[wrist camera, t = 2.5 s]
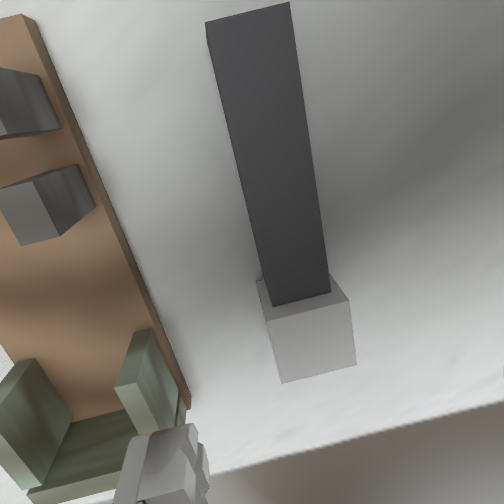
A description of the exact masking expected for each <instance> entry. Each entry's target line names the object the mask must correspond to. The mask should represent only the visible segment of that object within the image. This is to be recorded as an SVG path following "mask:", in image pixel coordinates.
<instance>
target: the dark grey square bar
mask: <svg viewBox="0 0 504 504" xmlns="http://www.w3.org/2000/svg"><path fill="white" fill-rule="evenodd" d="M205 27H206V38H207V43H208V48H209V52H210V56H211V60H212V64H213V68H214V73H215V77H216V81H217V85H218V89H219V93H220V98H221V102H222V106H223V110H224V114H225V118H226V122H227V127H228V131H229V135H230V139H231V143H232V147H233V152H234V156H235V160H236V164H237V168H238V172H239V177H240V181H241V185H242V189H243V193H244V197H245V202H246V206H247V210H248V214H249V218H250V222H251V227H252V231H253V235H254V239H255V243H256V247H257V252H258V256H259V260H260V264H261V268H262V272H263V277H264V280H260V281H256V284H257V288H258V292H259V296H260V300H261V304H262V308H263V312H264V316H265V320H266V324H267V328H268V332H269V336H270V340H271V344H272V348H273V352H274V356H275V360H276V364H277V367H278V371H279V375H280V379H281V383H282V384H283V383H287V382H291V381H295V380H299V379H303V378H307V377H311V376H315V375H318V374H322V373H326V372H330V371H334V370H338V369H342V368H346V367H349V366H353V365H357V363H356V355H355V346H354V338H353V330H352V321H351V313H350V305H349V300H348V299H347V297H346V296H345V294H344V293H343V292H342V290H341V289H340V287H339V286H338V285H337V283H336V282H335V280H334V279H333V278H332V276H331V275H330V274H329V271H328V265H327V258H326V251H325V244H324V237H323V230H322V223H321V216H320V209H319V202H318V196H317V189H316V182H315V175H314V168H313V161H312V154H311V147H310V140H309V133H308V127H307V120H306V113H305V106H304V99H303V92H302V85H301V78H300V71H299V64H298V58H297V51H296V44H295V37H294V30H293V23H292V16H291V9H290V2H286V3H282V4H278V5H274V6H270V7H266V8H261V9H257V10H253V11H249V12H245V13H241V14H237V15H233V16H229V17H225V18H221V19H217V20H212V21H208V22H205Z"/></svg>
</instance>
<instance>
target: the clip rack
mask: <svg viewBox="0 0 504 504" xmlns="http://www.w3.org/2000/svg"><path fill="white" fill-rule="evenodd" d="M0 344H1V345H2V347H3V348H4V350H5V351H6V353H7V354H8V356H9V357H10V359H11V360H12V361H13V363H14V364H15V365H14V366H13V368H12V369H11V370H10V371H9V373H8V374H7V375H6V376H5V378H4V379H3V380H2V382H1V383H0V465H1V466H2V467H3V468H4V470H5V471H6V472H7V473H8V474H9V475H10V477H11V478H12V479H13V480H14V481H15V482H16V484H17V485H18V486H19V487H20V488H21V489H22V490H26V489H29V491H28V493H27V496H28V498H29V499H30V500H31V501H32V502H33V503H34V504H58V503H62V502H66V501H70V500H74V499H77V498H81V497H85V496H89V495H93V494H97V493H100V492H104V491H108V490H112V489H116V488H117V484H118V481H119V477H120V473H121V470H122V466H123V462H124V459H125V455H126V451H127V448H128V444H129V442H130V441H131V439H132V438H133V437H135V436H139V435H143V434H148V433H152V432H155V431H159V430H163V429H168V428H172V427H176V426H181V425H185V419H186V410H190V409H191V394H190V392H189V390H188V387H187V385H186V383H185V380H184V378H183V375H182V373H181V371H180V368H179V366H178V363H177V361H176V359H175V356H174V354H173V351H172V349H171V347H170V344H169V342H168V339H167V337H166V335H165V332H164V330H163V327H162V325H161V323H160V320H159V318H158V315H157V313H156V311H155V308H154V306H153V303H152V301H151V299H150V296H149V294H148V291H147V289H146V287H145V284H144V282H143V279H142V277H141V275H140V272H139V270H138V267H137V265H136V263H135V260H134V258H133V256H132V253H131V251H130V248H129V246H128V244H127V241H126V239H125V236H124V234H123V232H122V229H121V227H120V224H119V222H118V220H117V217H116V215H115V212H114V210H113V208H112V205H111V203H110V200H109V198H108V196H107V193H106V191H105V188H104V186H103V184H102V181H101V179H100V176H99V174H98V172H97V169H96V167H95V164H94V162H93V160H92V157H91V155H90V152H89V150H88V148H87V145H86V143H85V141H84V138H83V136H82V133H81V131H80V129H79V126H78V124H77V121H76V119H75V117H74V114H73V112H72V109H71V107H70V105H69V102H68V100H67V97H66V95H65V93H64V90H63V88H62V85H61V83H60V81H59V78H58V76H57V73H56V71H55V69H54V66H53V64H52V61H51V59H50V57H49V54H48V52H47V49H46V47H45V45H44V42H43V40H42V37H41V35H40V33H39V30H38V28H37V26H36V23H35V21H34V20H32V19H30V18H28V17H26V16H24V15H22V14H18V15H14V16H10V17H6V18H2V19H0Z"/></svg>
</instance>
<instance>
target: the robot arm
mask: <svg viewBox="0 0 504 504" xmlns="http://www.w3.org/2000/svg"><path fill="white" fill-rule="evenodd" d="M209 487H210V472H209V463H208V458H207V454H206V451H205V448H204V445H203V444H201V443H199V442H198V431H197V429H196V427H195V425H194V423H189V424H185V425H181V426H176V427H172V428H168V429H163V430H159V431H155V432H152V433H148V434H143V435H139V436H135V437H133V438H132V439H131V441H130V442H129V444H128V448H127V451H126V455H125V459H124V462H123V466H122V470H121V473H120V477H119V481H118V484H117V488H116V492H115V495H114V499H113V503H112V504H208V503H207V500H206V498H205V494H206V493H207V491H208V489H209Z"/></svg>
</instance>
